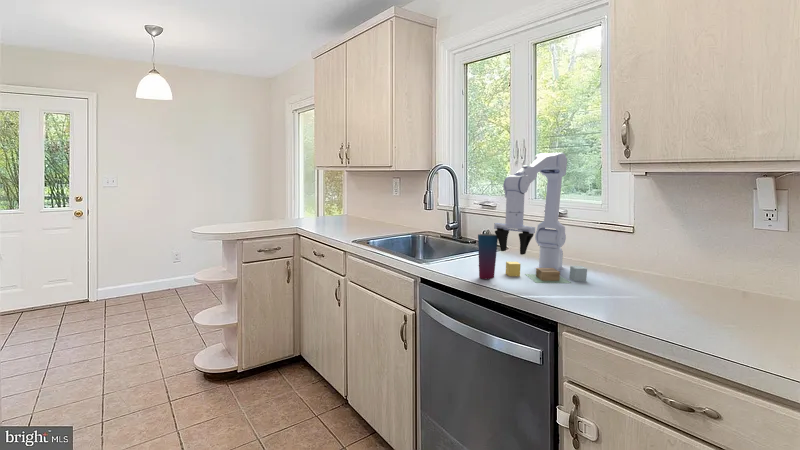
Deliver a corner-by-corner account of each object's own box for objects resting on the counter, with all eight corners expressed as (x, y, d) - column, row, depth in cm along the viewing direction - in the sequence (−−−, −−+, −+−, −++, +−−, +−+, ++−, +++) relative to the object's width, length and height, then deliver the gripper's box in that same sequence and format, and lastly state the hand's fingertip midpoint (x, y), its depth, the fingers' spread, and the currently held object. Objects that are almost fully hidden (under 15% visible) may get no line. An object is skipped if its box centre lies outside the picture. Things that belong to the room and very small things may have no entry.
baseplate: (524, 275, 151) (524, 274, 151) (557, 276, 151) (558, 274, 151) (535, 284, 139) (535, 282, 139) (571, 284, 139) (572, 283, 139)
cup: (496, 280, 143) (498, 236, 142) (476, 279, 144) (477, 235, 143) (496, 276, 150) (497, 234, 149) (476, 275, 151) (478, 233, 150)
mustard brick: (505, 275, 152) (506, 261, 151) (516, 275, 152) (517, 261, 151) (508, 277, 148) (509, 264, 147) (519, 278, 148) (520, 264, 147)
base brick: (535, 276, 148) (536, 267, 148) (552, 276, 148) (553, 267, 148) (541, 280, 142) (542, 271, 142) (559, 280, 142) (560, 271, 142)
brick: (569, 280, 146) (570, 265, 145) (580, 280, 146) (581, 266, 145) (574, 283, 142) (575, 268, 141) (586, 283, 142) (587, 268, 142)
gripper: (489, 211, 142) (487, 250, 144) (527, 214, 131) (525, 257, 133) (501, 209, 147) (500, 248, 149) (539, 213, 136) (537, 254, 138)
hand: (512, 252), depth 141 cm, fingers open, 7 cm apart
